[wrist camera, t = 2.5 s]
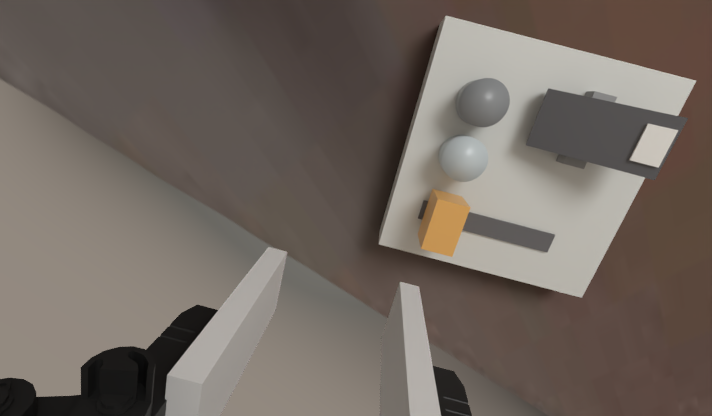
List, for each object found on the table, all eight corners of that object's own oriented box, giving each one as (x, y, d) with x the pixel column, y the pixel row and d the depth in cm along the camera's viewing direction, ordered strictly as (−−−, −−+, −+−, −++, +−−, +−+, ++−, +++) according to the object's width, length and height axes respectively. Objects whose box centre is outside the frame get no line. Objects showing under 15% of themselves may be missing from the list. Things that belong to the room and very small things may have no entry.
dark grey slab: (525, 144, 26) (525, 145, 25) (547, 90, 25) (548, 87, 24) (648, 178, 24) (655, 180, 22) (679, 118, 22) (689, 118, 21)
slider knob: (417, 233, 29) (421, 248, 26) (432, 188, 28) (437, 198, 25) (445, 241, 29) (452, 256, 26) (461, 196, 28) (470, 207, 25)
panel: (379, 231, 33) (378, 249, 29) (439, 24, 27) (448, 11, 23) (564, 280, 33) (588, 304, 29) (663, 82, 27) (710, 80, 23)
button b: (433, 170, 27) (436, 175, 25) (446, 129, 26) (450, 132, 24) (472, 180, 27) (479, 186, 25) (487, 140, 26) (495, 143, 24)
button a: (449, 119, 26) (454, 120, 24) (464, 74, 25) (470, 72, 23) (491, 129, 26) (499, 132, 24) (507, 85, 25) (517, 84, 23)
